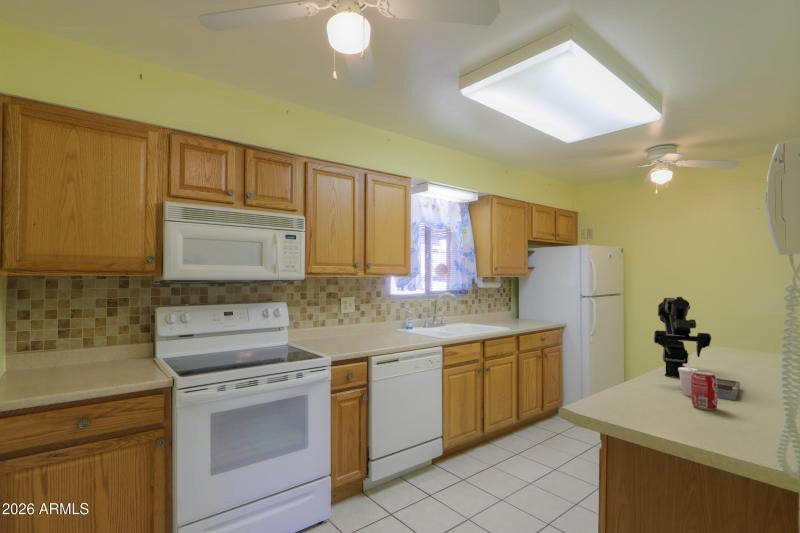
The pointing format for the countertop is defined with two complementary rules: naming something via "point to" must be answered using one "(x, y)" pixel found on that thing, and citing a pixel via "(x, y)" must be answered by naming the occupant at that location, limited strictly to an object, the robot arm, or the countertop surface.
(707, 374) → the soda can
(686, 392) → the white cup
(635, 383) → the countertop surface
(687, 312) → the robot arm
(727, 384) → the frame
